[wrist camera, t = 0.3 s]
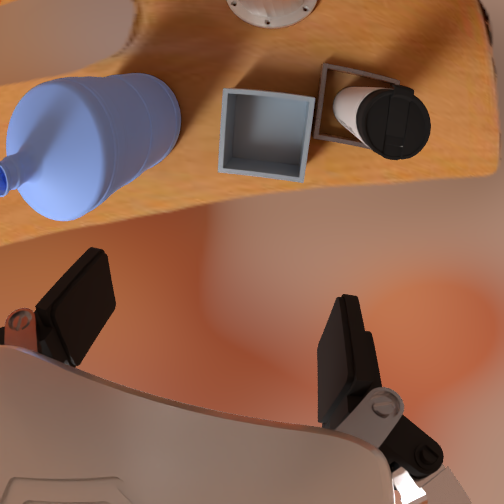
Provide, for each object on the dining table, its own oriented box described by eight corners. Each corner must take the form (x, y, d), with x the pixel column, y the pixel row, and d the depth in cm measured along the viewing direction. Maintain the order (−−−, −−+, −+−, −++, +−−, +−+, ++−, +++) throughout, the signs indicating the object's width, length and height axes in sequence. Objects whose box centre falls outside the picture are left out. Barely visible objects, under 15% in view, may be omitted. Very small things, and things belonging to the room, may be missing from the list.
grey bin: (234, 87, 38) (223, 88, 32) (311, 96, 38) (315, 97, 32) (228, 159, 44) (217, 172, 38) (302, 168, 43) (303, 182, 37)
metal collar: (321, 64, 35) (323, 63, 33) (394, 80, 34) (400, 80, 32) (312, 135, 41) (313, 138, 38) (382, 149, 40) (387, 152, 38)
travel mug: (377, 88, 35) (438, 95, 18) (372, 132, 39) (427, 170, 22) (334, 81, 36) (367, 77, 19) (330, 125, 39) (358, 158, 22)
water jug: (203, 108, 40) (85, 151, 17) (149, 185, 48) (39, 287, 24) (127, 55, 37) (-22, 62, 13) (84, 134, 44) (-46, 198, 20)
